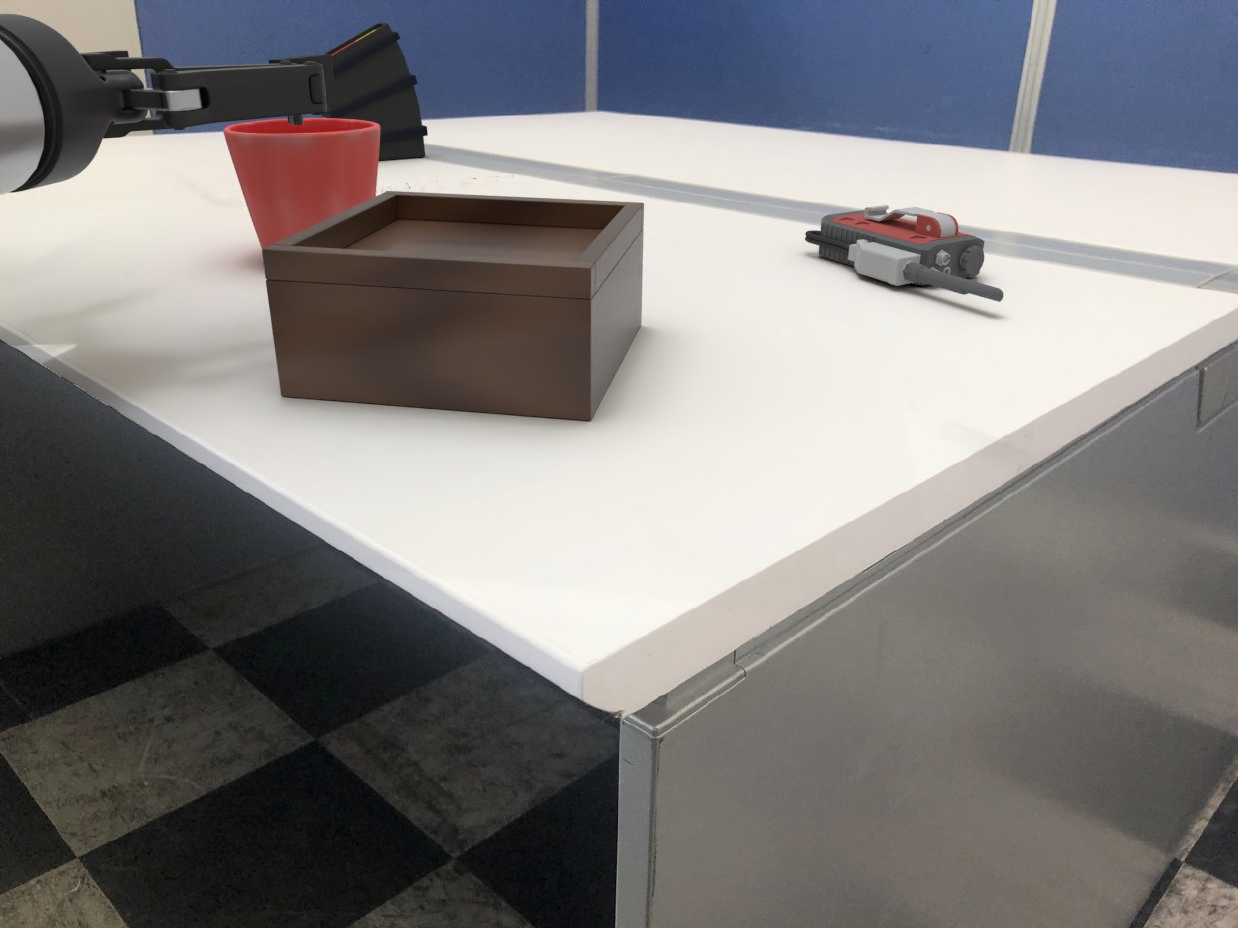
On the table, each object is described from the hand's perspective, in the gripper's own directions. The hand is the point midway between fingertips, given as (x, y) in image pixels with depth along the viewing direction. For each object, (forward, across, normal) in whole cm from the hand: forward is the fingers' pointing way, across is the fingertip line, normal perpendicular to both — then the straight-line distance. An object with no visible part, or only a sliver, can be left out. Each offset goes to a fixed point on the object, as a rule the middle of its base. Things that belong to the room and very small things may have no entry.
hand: (226, 75), depth 64 cm
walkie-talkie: (+14, +45, -14) cm, 49 cm away
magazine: (+57, -15, -14) cm, 60 cm away
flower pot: (+10, 0, -14) cm, 17 cm away
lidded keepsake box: (-10, +19, -14) cm, 26 cm away
